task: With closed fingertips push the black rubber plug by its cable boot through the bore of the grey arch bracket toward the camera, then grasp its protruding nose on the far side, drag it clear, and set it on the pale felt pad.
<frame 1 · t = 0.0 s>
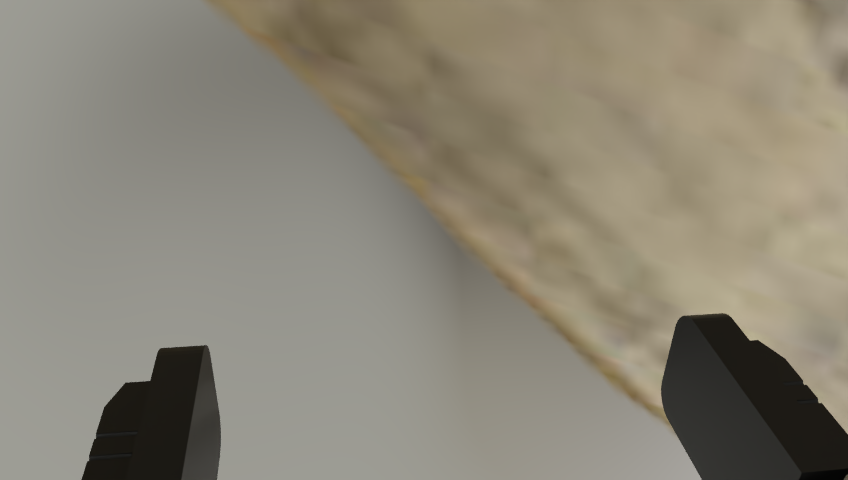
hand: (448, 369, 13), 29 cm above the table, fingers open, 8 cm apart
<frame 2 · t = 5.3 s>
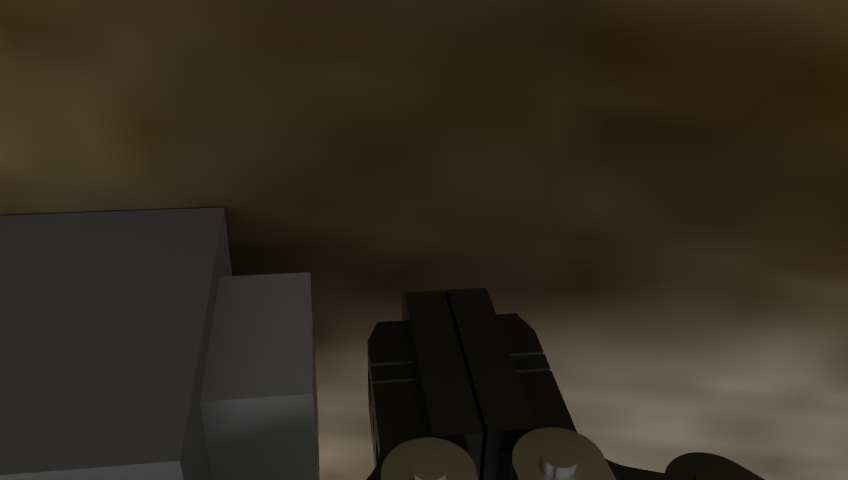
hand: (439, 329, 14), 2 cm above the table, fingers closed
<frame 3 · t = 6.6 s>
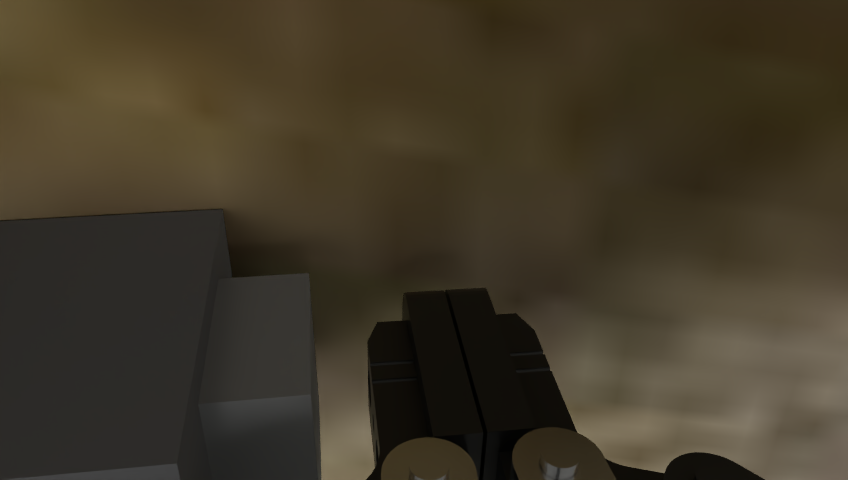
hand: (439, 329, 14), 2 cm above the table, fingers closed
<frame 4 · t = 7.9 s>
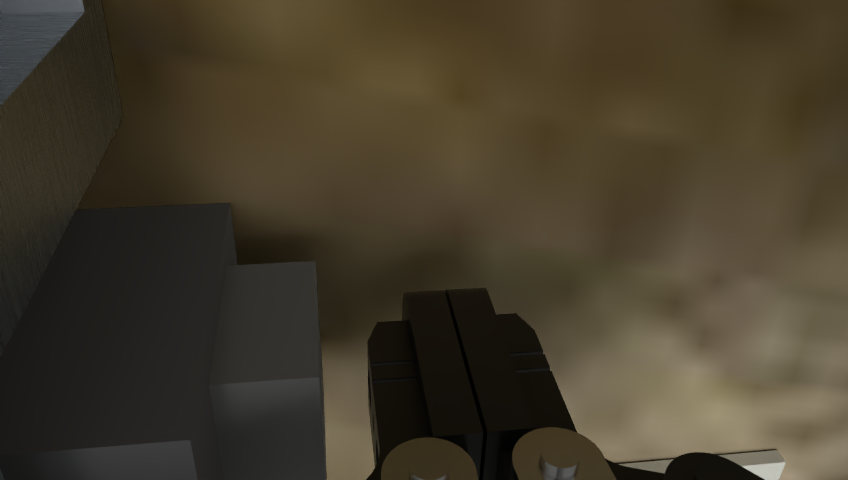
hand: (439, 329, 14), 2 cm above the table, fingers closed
grey arch bracket: (44, 295, 14), on the table
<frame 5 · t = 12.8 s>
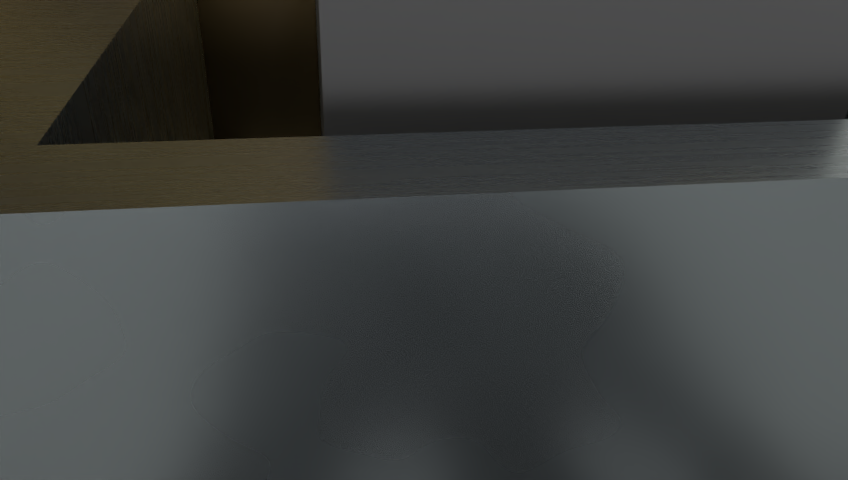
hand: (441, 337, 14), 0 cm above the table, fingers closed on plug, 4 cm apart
grey arch bracket: (444, 74, 12), on the table
plug: (446, 184, 13), on the table, touching gripper
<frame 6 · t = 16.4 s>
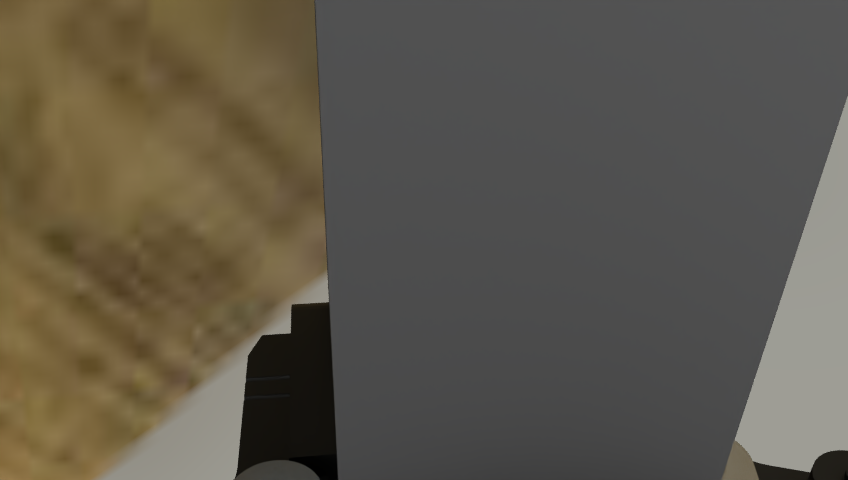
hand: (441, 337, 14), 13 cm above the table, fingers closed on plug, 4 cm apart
plug: (445, 184, 13), point 13 cm above the table, touching gripper
when the fingers open (2 cm above the table, at t = 20.1 s): plug drops 1 cm, resting on pad.
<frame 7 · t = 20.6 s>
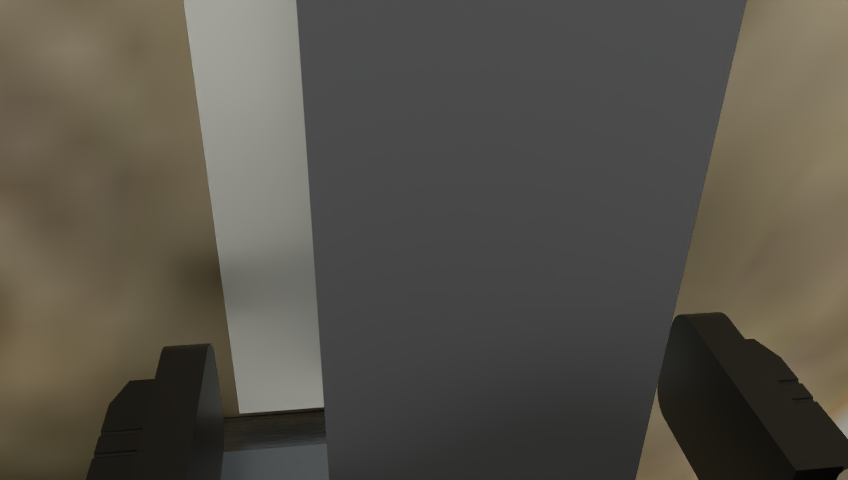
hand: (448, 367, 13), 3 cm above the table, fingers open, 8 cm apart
pad: (429, 93, 14), on the table
plug: (426, 159, 14), resting on pad
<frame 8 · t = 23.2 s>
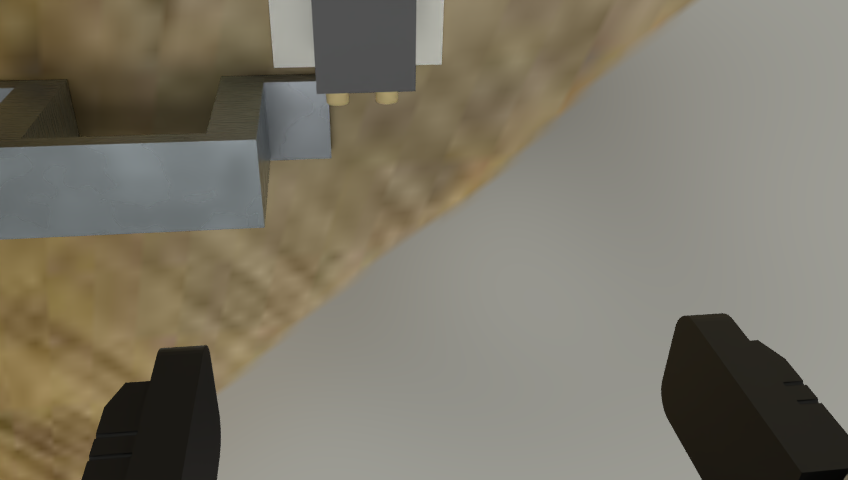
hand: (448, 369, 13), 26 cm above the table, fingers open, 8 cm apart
grey arch bracket: (151, 117, 37), on the table
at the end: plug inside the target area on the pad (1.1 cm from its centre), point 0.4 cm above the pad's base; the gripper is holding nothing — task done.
